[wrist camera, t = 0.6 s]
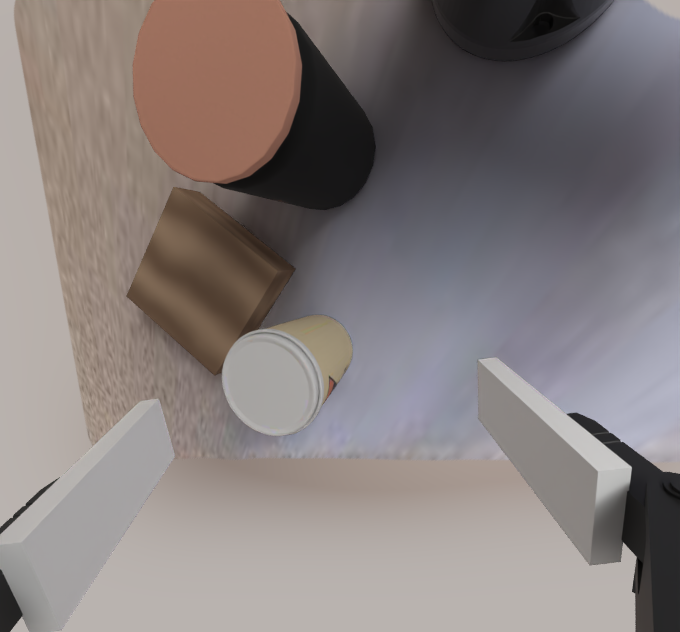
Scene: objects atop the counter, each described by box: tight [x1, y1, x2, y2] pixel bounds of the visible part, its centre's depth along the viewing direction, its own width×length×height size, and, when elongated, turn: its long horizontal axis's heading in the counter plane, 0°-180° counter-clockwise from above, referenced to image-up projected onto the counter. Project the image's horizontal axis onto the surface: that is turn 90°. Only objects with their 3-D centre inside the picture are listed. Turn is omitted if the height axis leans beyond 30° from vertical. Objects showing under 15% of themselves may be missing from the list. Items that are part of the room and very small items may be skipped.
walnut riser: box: [127, 187, 295, 375], centre depth 41 cm, size 15×15×4 cm
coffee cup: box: [222, 315, 353, 436], centre depth 34 cm, size 9×9×12 cm
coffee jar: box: [133, 0, 375, 210], centre depth 27 cm, size 11×11×18 cm
